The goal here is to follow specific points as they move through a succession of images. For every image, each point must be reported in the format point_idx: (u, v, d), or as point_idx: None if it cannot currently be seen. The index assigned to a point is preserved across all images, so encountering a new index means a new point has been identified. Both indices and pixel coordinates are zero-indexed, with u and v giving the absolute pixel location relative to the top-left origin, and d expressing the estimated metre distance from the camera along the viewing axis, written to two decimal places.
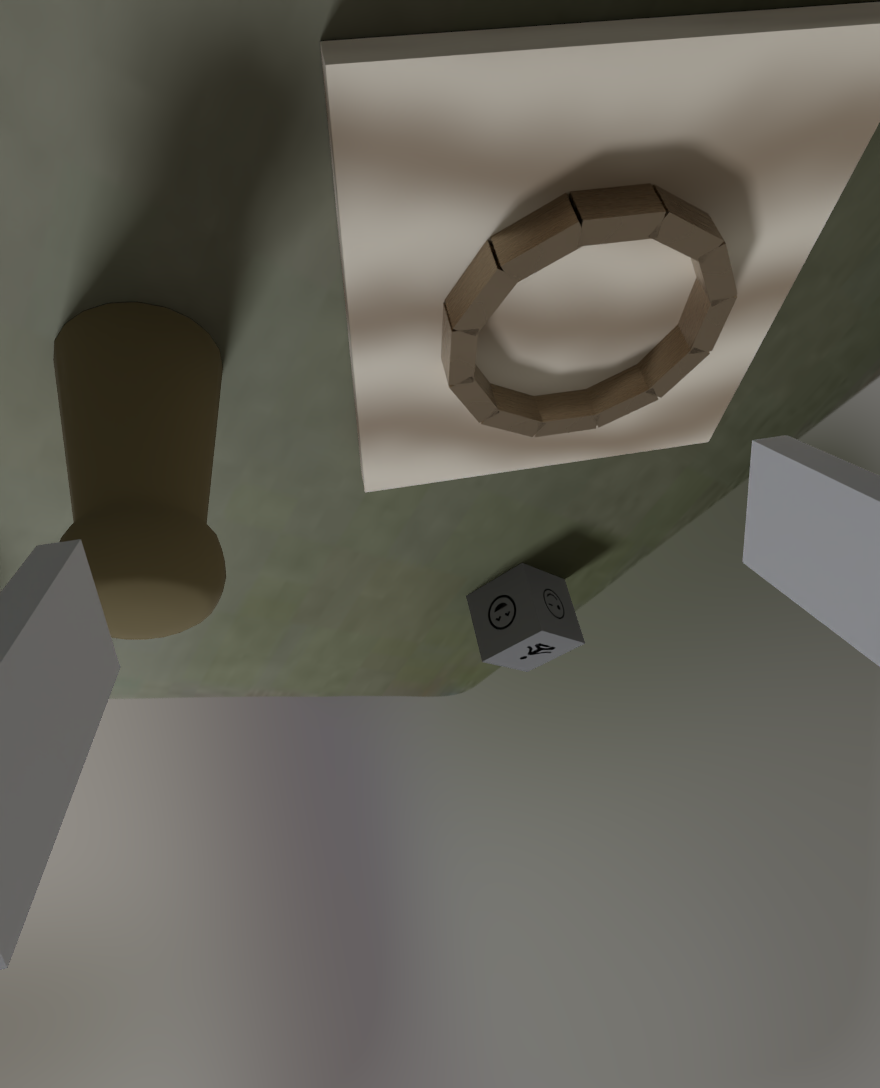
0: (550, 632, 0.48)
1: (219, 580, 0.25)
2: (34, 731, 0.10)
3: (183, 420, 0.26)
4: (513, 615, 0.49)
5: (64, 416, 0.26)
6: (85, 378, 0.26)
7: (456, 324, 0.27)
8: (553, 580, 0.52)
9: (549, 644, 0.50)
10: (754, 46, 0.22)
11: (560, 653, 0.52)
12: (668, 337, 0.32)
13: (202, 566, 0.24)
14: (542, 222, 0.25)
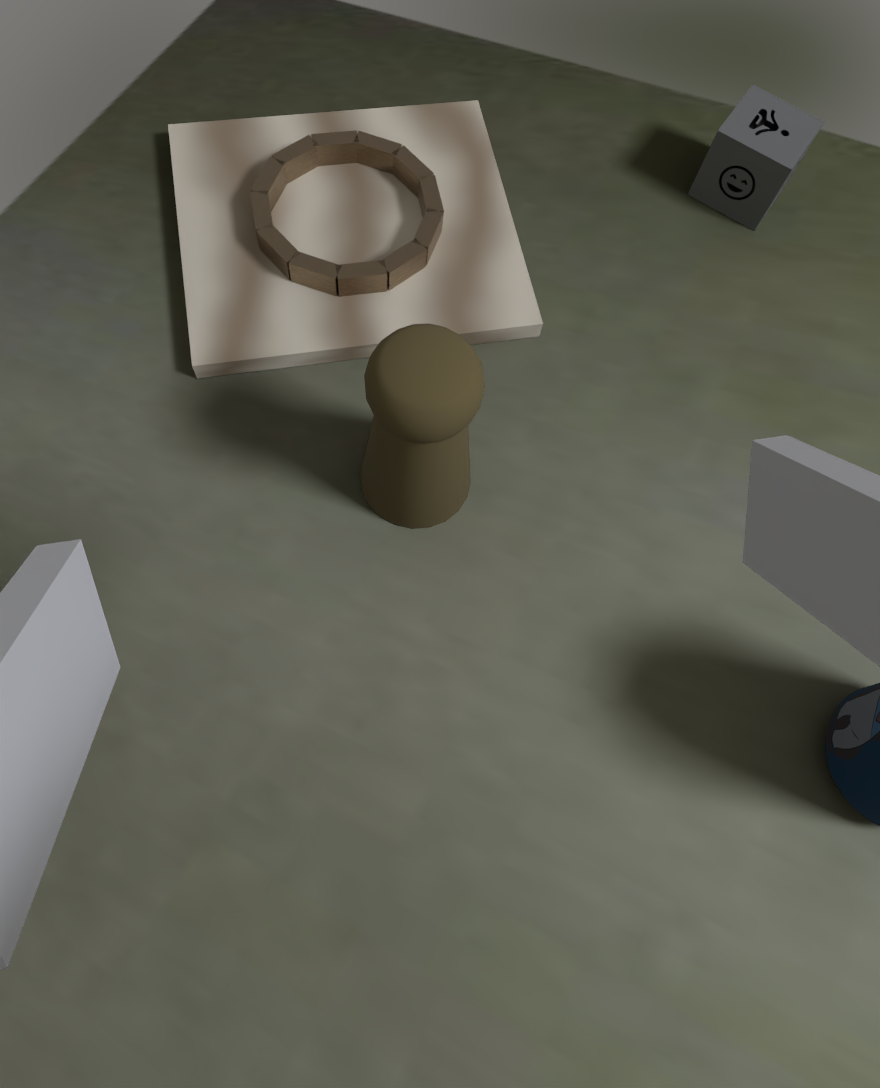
0: (724, 122, 0.47)
1: None
2: (34, 731, 0.10)
3: None
4: (730, 169, 0.48)
5: (398, 489, 0.38)
6: (374, 479, 0.38)
7: (332, 277, 0.43)
8: None
9: (751, 116, 0.47)
10: (181, 191, 0.46)
11: (777, 100, 0.47)
12: (365, 163, 0.48)
13: (390, 334, 0.33)
14: (269, 252, 0.44)
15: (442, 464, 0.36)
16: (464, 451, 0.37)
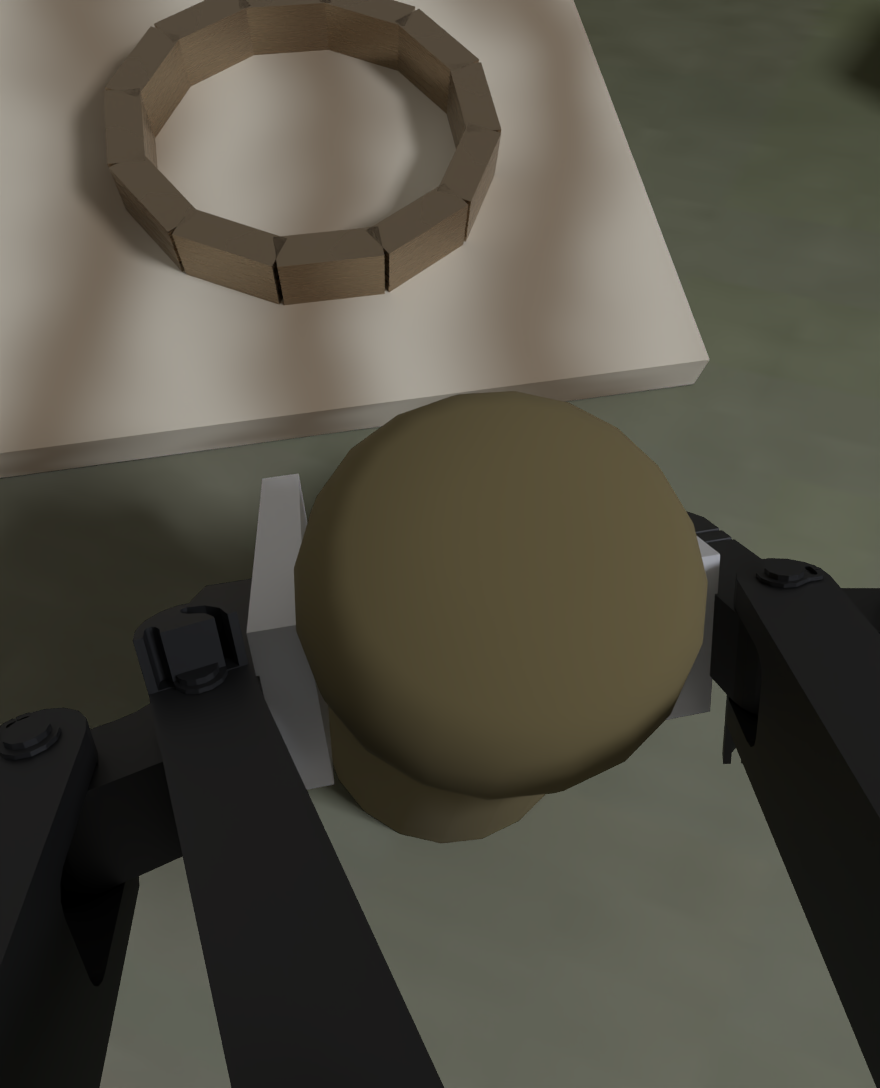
0: None
1: None
2: None
3: None
4: None
5: (408, 804, 0.14)
6: (349, 762, 0.15)
7: (264, 263, 0.20)
8: None
9: None
10: None
11: None
12: (345, 50, 0.25)
13: (381, 427, 0.10)
14: (139, 214, 0.21)
15: None
16: None
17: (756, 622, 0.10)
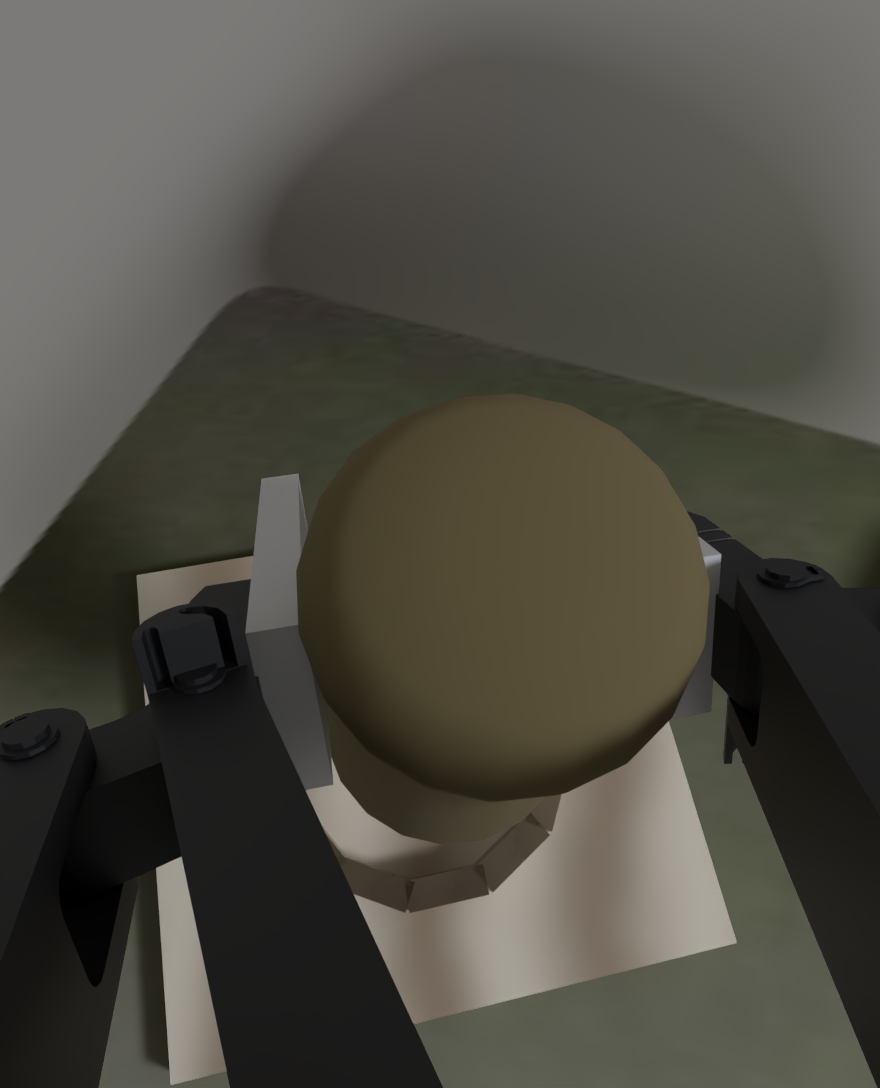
0: None
1: (454, 398, 0.10)
2: None
3: None
4: None
5: (410, 806, 0.14)
6: (352, 764, 0.15)
7: (399, 909, 0.26)
8: None
9: None
10: None
11: None
12: None
13: (384, 430, 0.10)
14: None
15: None
16: None
17: (757, 622, 0.10)
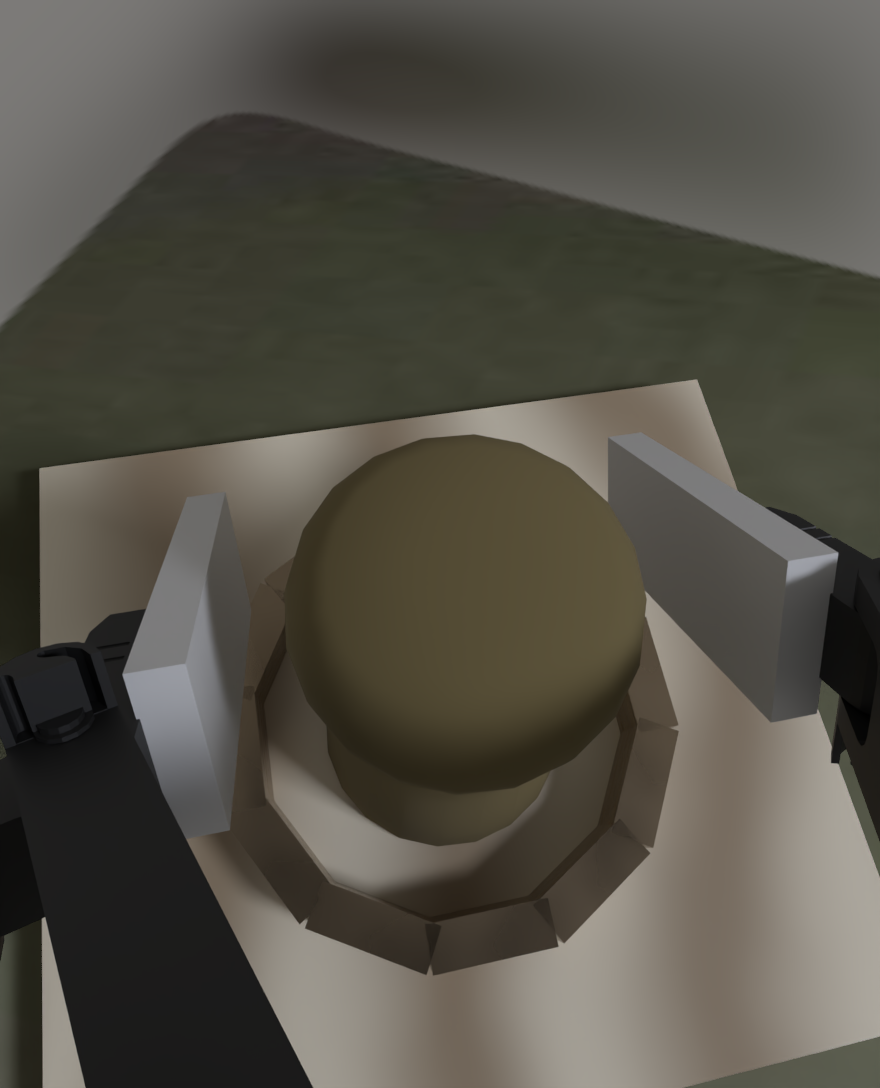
0: None
1: None
2: (222, 645, 0.12)
3: None
4: None
5: (401, 807, 0.16)
6: (348, 769, 0.16)
7: (417, 970, 0.16)
8: None
9: None
10: None
11: None
12: None
13: (359, 468, 0.11)
14: None
15: None
16: None
17: (876, 619, 0.09)
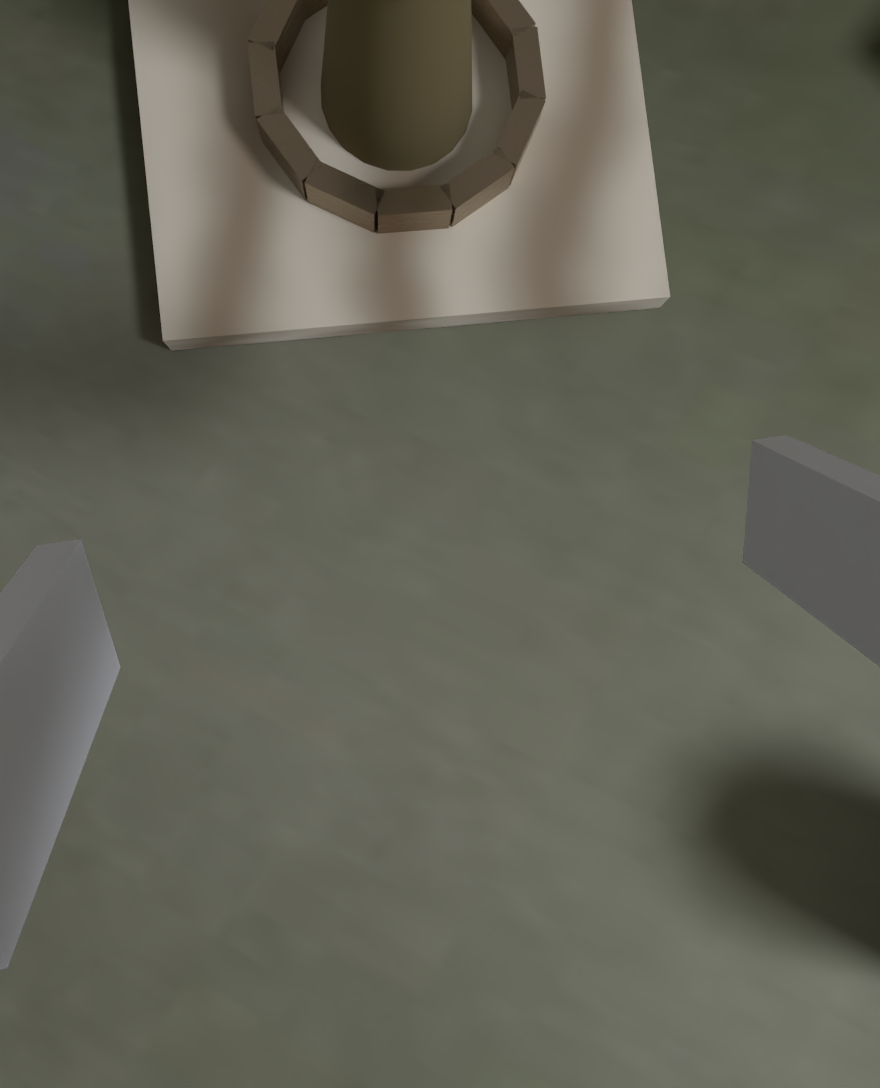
0: None
1: None
2: (34, 731, 0.10)
3: None
4: None
5: (366, 96, 0.27)
6: (335, 81, 0.27)
7: (369, 212, 0.28)
8: None
9: None
10: (140, 25, 0.30)
11: None
12: None
13: None
14: (276, 154, 0.29)
15: (429, 50, 0.25)
16: (463, 38, 0.25)
17: None
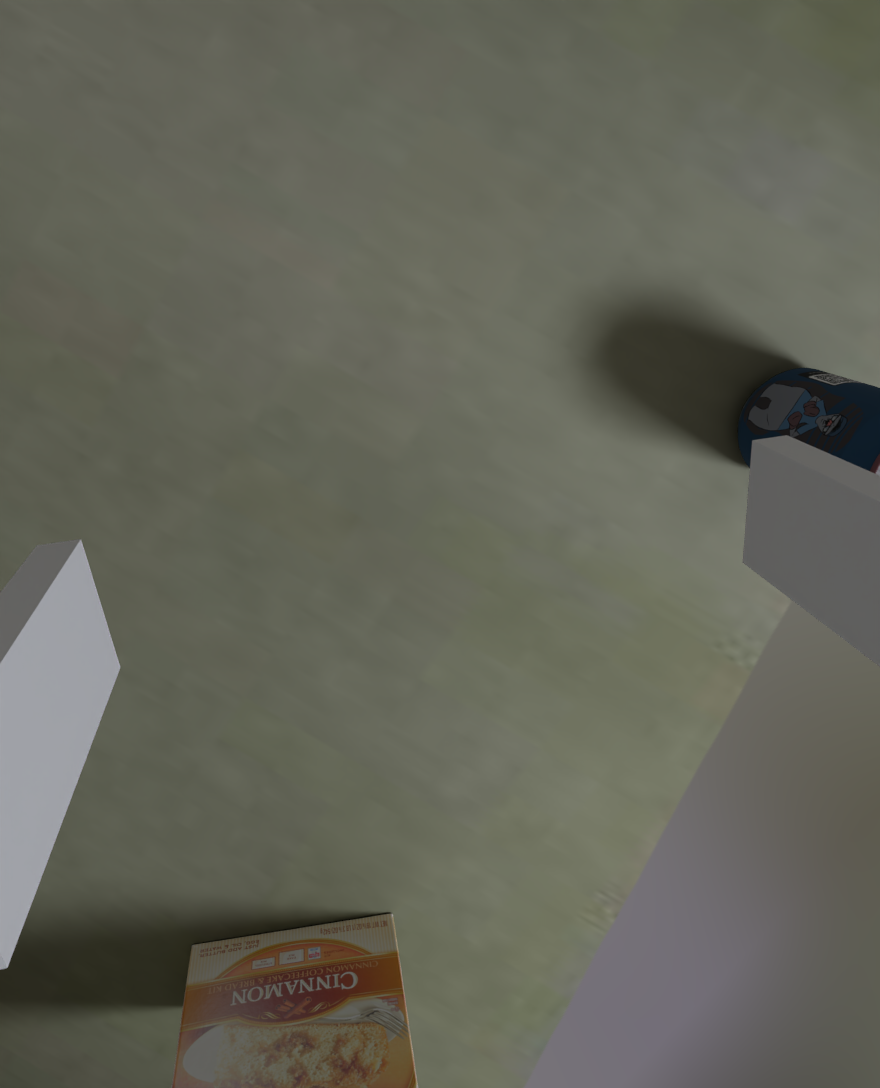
0: None
1: None
2: (34, 731, 0.10)
3: None
4: None
5: None
6: None
7: None
8: None
9: None
10: None
11: None
12: None
13: None
14: None
15: None
16: None
17: None
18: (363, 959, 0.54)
